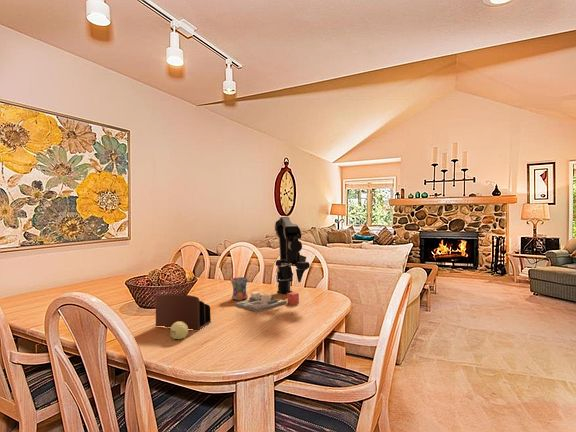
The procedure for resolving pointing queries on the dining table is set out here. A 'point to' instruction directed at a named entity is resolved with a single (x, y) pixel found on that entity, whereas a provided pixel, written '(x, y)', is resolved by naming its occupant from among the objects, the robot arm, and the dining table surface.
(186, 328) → the tennis ball
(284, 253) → the robot arm
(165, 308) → the letter holder
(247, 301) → the breaker panel
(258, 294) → the switch
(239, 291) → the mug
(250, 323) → the dining table surface
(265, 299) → the switch
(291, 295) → the red block
